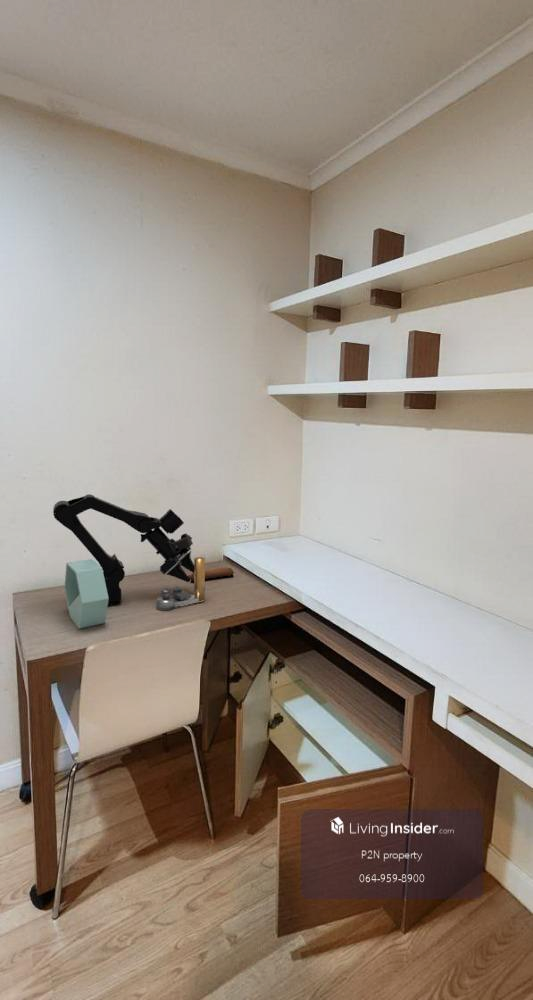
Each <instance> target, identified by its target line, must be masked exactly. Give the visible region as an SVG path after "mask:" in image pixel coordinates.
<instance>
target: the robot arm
mask: <svg viewBox="0 0 533 1000" xmlns="http://www.w3.org/2000/svg"><path fill="white" fill-rule="evenodd" d="M88 510H94V511H95V512H98V513H101V514H104V515H106V516H107V517H108V516H109V517H110V518H112V519H116V520H118V521H121V522H123V523H125V524H126V525H128V526H129V527H131V529H134V530H135V531H137V532H139V533H140V542H141V543H144V542H145V541H146V540H147V542H149V544H150V545H151V546H152V547H153V548H154V549H155V550H156V552H155V554H156V555H160V556H161V557H162V558H163V559H164V561H163V564H162V565H160V567H159V570H160V572H161V573H162V574H163V575H166V576H170V577H173V578H176V579H179V580H182V581H184V582H187V583H189V582H190V579H189V577H188V576H187V575H188V574H187V573H186V572H185V570H184V569H183V568H185V569H186V570H188V571H189V572H191V573H194V562H193V560H192V558H191V557H192V556H191V555H192V548H191V547H192V546H193V544H194V543H193V541H192V539H193V537H192V536H190V534H189V535H188V534H187V533H183V534H181V535H180V538H179V539H177V540H175V539H174V538H171V539H170V538H169V537H168V534H170V535H171V534H173V535H174V534H175V532H176V531H177V530H178V529H179V528H181V527H182V526H183V525H184V524H185V522H184V521H183V520H182V519H181V518H180V517H179V515H177V514H176V513H175V512H174V511H173V510H172V509H168V510H167V511H166V513H164V514H163V515H162V516H161V517H160V518H158V517H152V516H149V515H148V514H147V513H145V512H140V511H135V510H128V509H125V508H123V507H121V506H118V505H116V504H113V503H111V502H108V501H106V500H103V499H101V498H98V497H96V496H95V495H93V494H86V495H84V496H81V497H77V498H73V499H70V500H59V501H57V502H55V504H54V505H53V509H52V513H53V517H54V519H55V520H56V521H57V522H58V523H60V524H61V525H62V526H63V527H65V528H66V529H68V530H69V531H71V532H72V533H73V535H74V536H75V537H76V538H77V539H78V540H79V541H80V543H81V544H82V545H83V546H84V548H86V550H87V551H88V552H89V553H90V554H91V556H93V558H94V559H95V560H96V561H97V563H98V565H100V566H101V567H102V570H103V574H104V579H105V584H106V588H107V593H108V598H109V600H108V606H107V607H110V606H111V607H112V606H117V605H121V604H122V602H121V601H122V588H121V587H120V582H122V581H123V580H124V578H125V576H126V573H125V566H124V563H123V562H122V561H121V560H119V558H118V557H117V556H116V554H115V553H114V554H113V555H110V554H109V553H107V552H106V550H105V549H104V548H103V547H102V546H101V544H100V543H99V542H98V541H97V540H96V539H95V537H94V536H93V535H92V534H91V532H89V530H88V529H87V528H86V526H84V524H83V523H82V522H81V520H80V518H79V516H78V515H79V514H82V513H84V512H86V511H88ZM160 527H161V528H162V529H163V530H162V529H161V528H160ZM163 531H164V532H163ZM165 533H166V534H167V535H166V534H165Z"/></svg>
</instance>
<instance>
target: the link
mask: <svg viewBox="0 0 533 1000" xmlns="http://www.w3.org/2000/svg"><path fill="white" fill-rule="evenodd" d="M193 564H194V582H193V584H194V586H193V587H194V590H193V591H194V592H193V593H194V594H191V598H187V599H183V600H180V599H178V598H175V597H173V596H172V595H170V599H168V600H163V599H162V595H161V596H158V597H157V598H156V609H157V610H160V611H163V610H167V611H172V610H174V609H175V608H178V607H177V606H181V605H185V604H189V603H194V602H199V601H202V600H204V599H205V597H206V596H205V595H206V594H205V591H206V590H205V586H206V585H205V584H206V580H205V570H206V558H205V557H203V556H202V557H201V556H197V557H195V558H194V562H193ZM174 607H175V608H174ZM181 607H182V606H181ZM173 608H174V609H173ZM171 609H172V610H171Z"/></svg>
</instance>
